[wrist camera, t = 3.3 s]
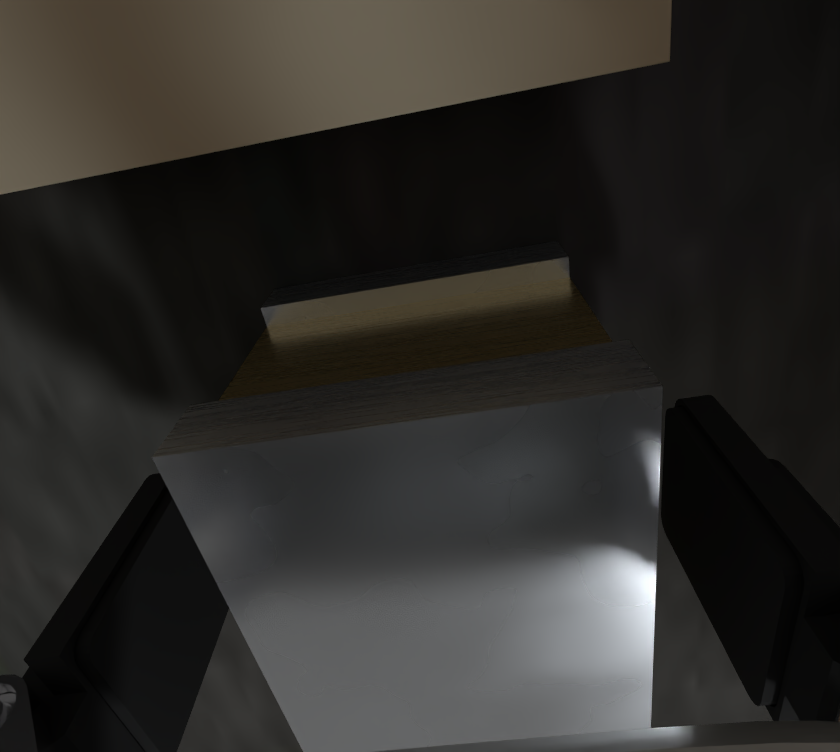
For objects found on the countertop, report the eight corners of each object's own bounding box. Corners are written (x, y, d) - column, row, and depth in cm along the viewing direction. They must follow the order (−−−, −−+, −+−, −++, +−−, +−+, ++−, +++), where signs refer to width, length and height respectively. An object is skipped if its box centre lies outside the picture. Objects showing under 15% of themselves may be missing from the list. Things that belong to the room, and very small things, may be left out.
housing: (556, 239, 11) (662, 386, 6) (573, 526, 15) (648, 769, 10) (275, 287, 12) (152, 457, 7) (360, 551, 16) (324, 792, 10)
